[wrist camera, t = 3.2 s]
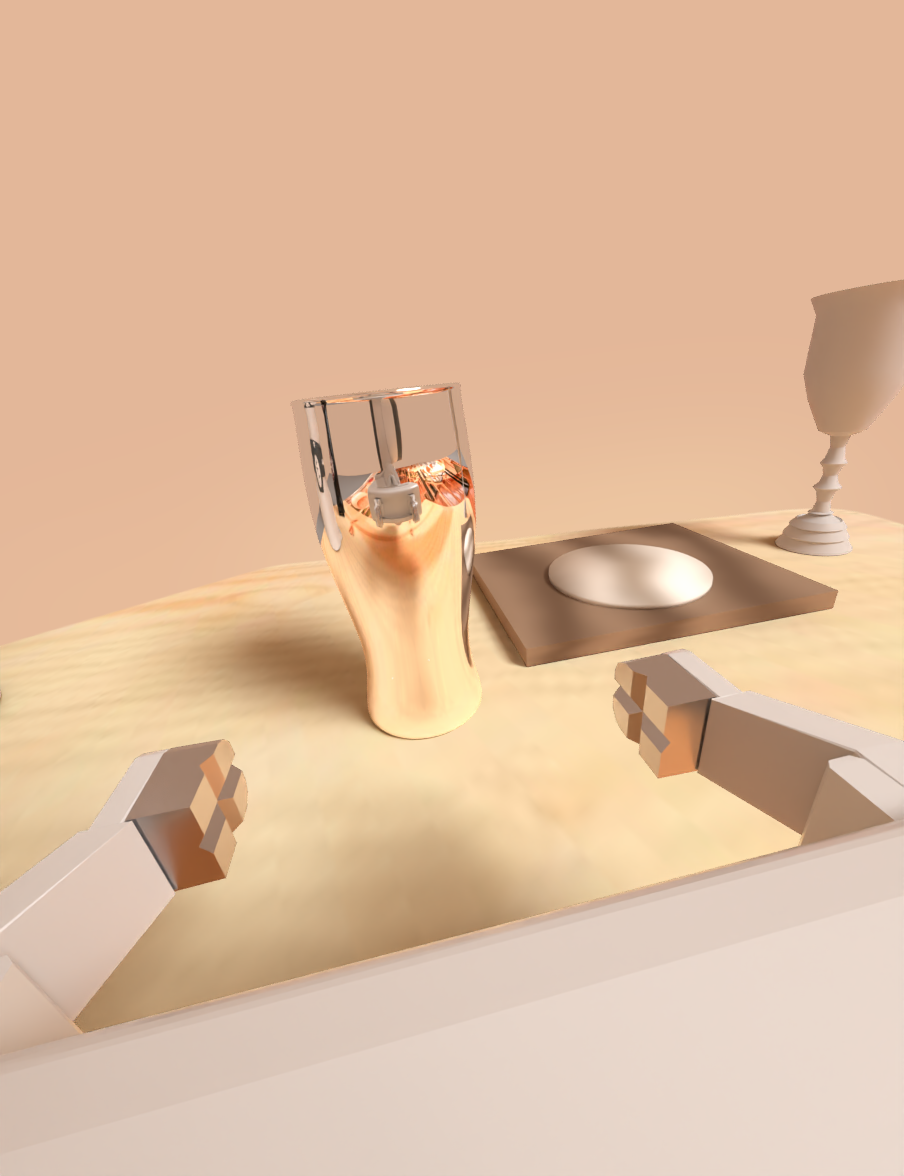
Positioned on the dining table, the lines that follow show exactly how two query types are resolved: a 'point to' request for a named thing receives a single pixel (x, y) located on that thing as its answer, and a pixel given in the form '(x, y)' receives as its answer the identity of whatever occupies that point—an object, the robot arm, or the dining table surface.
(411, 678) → the beer glass
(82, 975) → the robot arm
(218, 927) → the dining table surface
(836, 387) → the chalice
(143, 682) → the dining table surface
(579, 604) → the walnut board
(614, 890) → the dining table surface
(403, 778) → the dining table surface
